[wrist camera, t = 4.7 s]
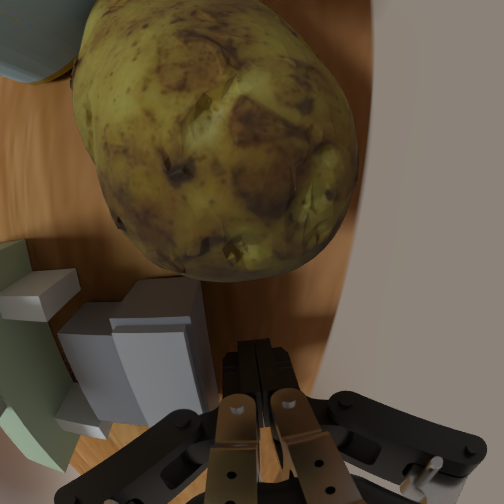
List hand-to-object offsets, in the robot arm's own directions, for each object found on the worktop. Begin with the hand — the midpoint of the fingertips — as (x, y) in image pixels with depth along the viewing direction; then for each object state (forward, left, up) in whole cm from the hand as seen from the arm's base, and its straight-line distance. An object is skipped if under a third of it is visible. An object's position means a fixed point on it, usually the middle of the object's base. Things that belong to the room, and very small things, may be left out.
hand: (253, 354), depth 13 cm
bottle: (-18, -9, -2) cm, 20 cm away
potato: (-12, -1, -2) cm, 12 cm away
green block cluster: (0, -12, -2) cm, 12 cm away
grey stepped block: (0, -5, -1) cm, 5 cm away
